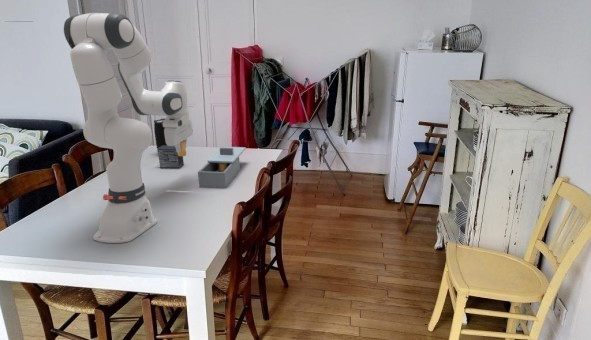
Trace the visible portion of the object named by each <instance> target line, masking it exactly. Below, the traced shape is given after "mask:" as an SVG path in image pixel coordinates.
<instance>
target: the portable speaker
mask: <svg viewBox="0 0 591 340" xmlns="http://www.w3.org/2000/svg"><path fill="white" fill-rule="evenodd" d="M165 119H166V118H161V119H154V120H153V126H154V127H153V128H154V138H155V139H154V140H155V145H156V149H157V150H156V151H157V152H158V148H159V147H161V146H162V145H167V144H166V141H165V134H164V129H165V127H163V121H164V120H165Z"/></svg>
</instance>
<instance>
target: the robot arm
mask: <svg viewBox="0 0 591 340" xmlns="http://www.w3.org/2000/svg"><path fill="white" fill-rule="evenodd" d="M63 33H64V37H65V40H66V42H67V43H68V46H69V47H70V49H71V51H70V61H71V66H72V69H73V73H74V77H75V79H76V81H77V84H78V86H79V89H80V91H81V93H82V96H83V99H84V102H85V104H86V109H87V120H86V121H85V123H84V125H83V128H82V133H83V136H84V139H85V140H86V141H87V142H88V143H90V144H92V145H94V146H97V147H98V148H104V149H110V150H113V159H112V160H111V161H110V162H109V163H108V164H107V166H106V170H105V171H106V176H107V181H108V187H109V188H108V192H107V194H103V196H102V200H103V201H108V202H107V204H106V205H105V208H104V209H103V212H102V214H101V215H100V218H99V221H98V225H99V228H98V229H97V231H96V232H95V233H94V235H93V238H92V239H93V241H94V240H95V241H96V242H100V243H105V244H106V243H108V244H120V243H121V244H123V243H128V242H131V241H133V240H134V239H136V238H137V237H139V236H140V235H141V234H143V233H145V232H146V231H147V230H149V229H150V228H152V227H153V226H154V225H156V224H157V223H158V221H157V219H156V218H155V217H154V214H153V210H152V205H151V203H150V202H151V201H150V200H149V199H148V197H147V196H146V186H145V183H144V182H143V177H142V167H141V165H142V164H141V163H142V158H143V157H142V156H143V154H144V152H145V150H146V149H148V147H149V146H150V145H151V143H152V140H153V134H152V129H151V127H150V125H148V123H146V122H144V121H141V120H139V119H137V118H128V117H127V118H126V117H121V116H119V113H118V106H119V105H120V103H121V102H122V99H123V94H122V92H121V91H122V90H121V88H120V86H119V83H118V79H117V77H116V74H115V71H114V69H113V66H112V63H111V62H110V60H109V59H108V51H109V50H112V52H113V53H114V55H115V57H116V58H117V60H118V64H117V69H118V73H119V76H120V78H121V80H122V82H123V85H124V87H125V89H126V91H127V93H128V96H129V97H130V100H131V104H132V106H133V109H134V111H135V112H136V114H138V115H140V116H159V117H160V116H163V117H165V118H164V119H165V120H164V121H163V127H165V129H164V134H165V141H166V144H167V145H168V146H175V148H176V152H178V153H180V152H181V151H182V148H180V142H182V141H185V146H186V147H187V142H188V138H190V137H191V136H193V134H194V131H193V125H192V121H191V119H190V114H189V109H188V96H187V89H186V86H185V83H184V82H183V81H180V80H165V81H164V87H162V89H160V91H159V90H158V91H157V90H148V89H146V88H144V87H143V84H142V82H141V81H140V77H139V75H138V74H141V73H142V72H144V71H145V70H146V69H147V68H148V67H149V66H150V64H151V63H152V62H151V61H152V53H151V51H150V48H149V46H148V44H147V43H146V41H145V39H144V38H143V36H142V34H141V33H140V31H139V30H138V29H137V27H136V26H135V25H134V23H132V21H131V20H130V19H129V18H128V16H126V15H124V14H121V13H118V12H109V13H107V12H106V13H105V12H103V13H101V12H89V13H84V14H74V15H72V16H70V17H68V18H67V19H65V21H64V24H63Z"/></svg>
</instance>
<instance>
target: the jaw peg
mask: <svg viewBox="0 0 591 340" xmlns="http://www.w3.org/2000/svg"><path fill="white" fill-rule="evenodd" d="M180 148H182V151H181V152H180V153H178V156H183V157H186V156H187V145H186V146H185V141H182V142H180Z"/></svg>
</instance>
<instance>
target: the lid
mask: <svg viewBox="0 0 591 340" xmlns="http://www.w3.org/2000/svg"><path fill="white" fill-rule="evenodd" d="M246 149H247V147H243V146H241V147H240V146H221V147H220V148H219V149H218V150H217V151H216V152H215V153H214V154H213V155H212V156H210V157H209V158H208V159H207V163H208V162H214V163H234V161H235V160H236V159H237V158H238V157H239V158H240V156H241V155H242V154H243V153H244V151H245V150H246Z"/></svg>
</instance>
